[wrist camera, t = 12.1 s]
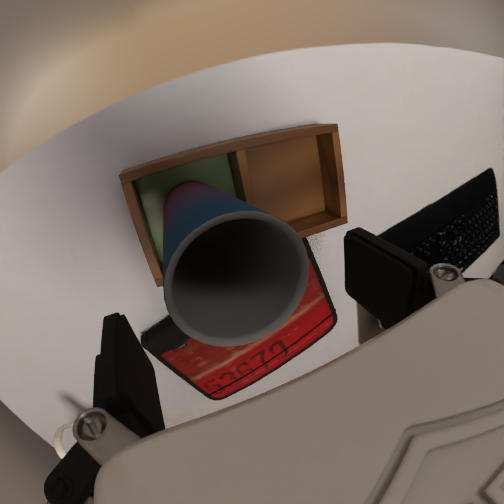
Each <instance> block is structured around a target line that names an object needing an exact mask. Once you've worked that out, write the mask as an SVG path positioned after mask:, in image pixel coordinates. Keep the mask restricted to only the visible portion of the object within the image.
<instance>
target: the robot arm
mask: <svg viewBox="0 0 504 504" xmlns="http://www.w3.org/2000/svg"><path fill="white" fill-rule="evenodd" d="M344 259H345V289H346V292H347V294H348V295H349V296H351V297H352V298H353V299H354V300H355V301H357V302H358V303H359V304H360V305H361V306H363V307H364V308H365V309H366V310H368V311H369V312H370V313H371V314H372V315H374V316H375V317H376V318H377V319H378V320H379V321H381V322H382V323H383V324H384V325H385V326H387V327H388V328H389V329H387V330H386V331H384V332H382V333H381V334H379V335H377V336H376V337H374V338H372V339H370V340H369V341H367V342H365V343H364V344H362V345H360V346H358V347H356V348H355V349H353V350H351V351H349V352H347V353H346V354H344V355H342V356H340V357H338V358H336V359H334V360H332V361H330V362H329V363H327V364H325V365H323V366H321V367H319V368H317V369H315V370H313V371H311V372H309V373H306V374H304V375H302V376H300V377H298V378H296V379H294V380H292V381H289V382H287V383H285V384H283V385H281V386H278V387H276V388H274V389H272V390H269V391H267V392H265V393H262V394H260V395H257V396H255V397H253V398H250V399H248V400H245V401H243V402H240V403H237V404H235V405H232V406H230V407H227V408H224V409H222V410H219V411H216V412H214V413H211V414H208V415H205V416H203V417H200V418H197V419H194V420H191V421H188V422H185V423H182V424H179V425H176V426H173V427H171V428H168V429H165V425H164V420H163V415H162V410H161V405H160V400H159V394H158V389H157V383H156V377H155V371H154V368H153V365H152V363H151V361H150V360H149V358H148V356H147V355H146V353H145V351H144V349H143V348H142V346H141V344H140V342H139V341H138V339H137V337H136V335H135V333H134V332H133V330H132V328H131V326H130V324H129V322H128V320H127V318H126V317H125V315H120V314H119V313H114V314H111V315H108V316H105V317H104V320H103V329H102V340H101V353H100V354H99V355H97V356H96V359H95V373H94V393H93V408H89V409H87V410H84V411H83V412H82V413H81V414H79V416H78V417H77V418H76V420H75V422H74V424H73V435H74V437H75V439H76V440H77V442H76V443H75V444H74V446H73V447H72V448H71V449H70V450H69V452H68V453H67V454H66V455H65V456H64V458H63V459H62V460H61V461H60V463H59V464H58V465H57V466H56V467H55V468H54V470H53V471H52V472H51V473H50V475H49V476H48V477H47V479H46V481H45V484H44V493H45V496H46V498H47V500H48V501H47V504H504V284H503V283H502V282H501V281H500V280H498V279H483V278H464V277H463V275H462V273H461V271H460V270H459V269H458V268H457V267H455V266H453V265H450V264H443V263H441V264H436V265H434V266H432V267H431V269H430V272H428V271H427V263H426V262H424V261H422V260H421V259H419V258H417V257H415V256H413V255H412V254H410V253H408V252H406V251H404V250H402V249H401V248H399V247H397V246H395V245H393V244H391V243H389V242H387V241H386V240H384V239H382V238H380V237H378V236H376V235H374V234H372V233H370V232H368V231H366V230H364V229H362V228H360V227H358V228H355V229H352V230H349V231H347V233H346V235H345V236H344Z"/></svg>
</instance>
